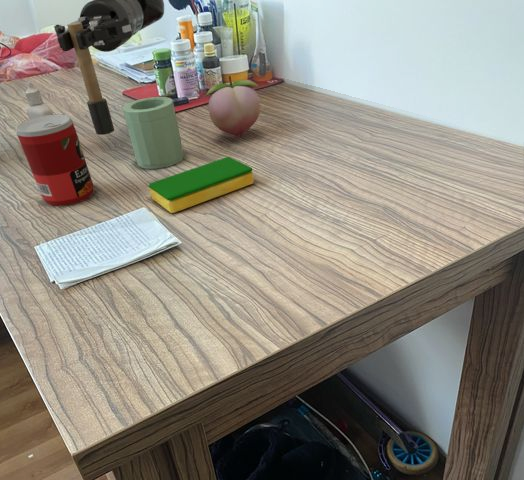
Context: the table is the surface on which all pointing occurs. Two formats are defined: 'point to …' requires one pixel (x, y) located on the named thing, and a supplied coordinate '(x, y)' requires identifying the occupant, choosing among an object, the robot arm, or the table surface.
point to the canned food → (56, 159)
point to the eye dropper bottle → (36, 103)
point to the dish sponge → (201, 184)
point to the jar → (154, 132)
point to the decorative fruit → (234, 106)
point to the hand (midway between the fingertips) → (71, 42)
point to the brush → (91, 86)
